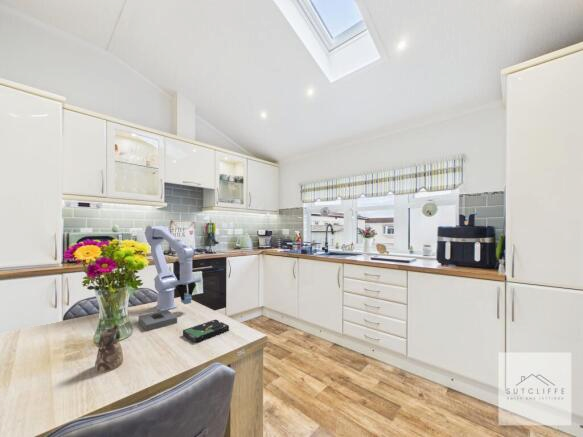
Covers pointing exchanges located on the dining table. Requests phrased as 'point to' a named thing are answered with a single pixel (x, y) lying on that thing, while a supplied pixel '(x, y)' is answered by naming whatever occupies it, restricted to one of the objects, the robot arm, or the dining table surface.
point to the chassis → (157, 320)
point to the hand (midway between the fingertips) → (186, 299)
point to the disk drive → (205, 331)
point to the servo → (186, 298)
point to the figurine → (108, 351)
